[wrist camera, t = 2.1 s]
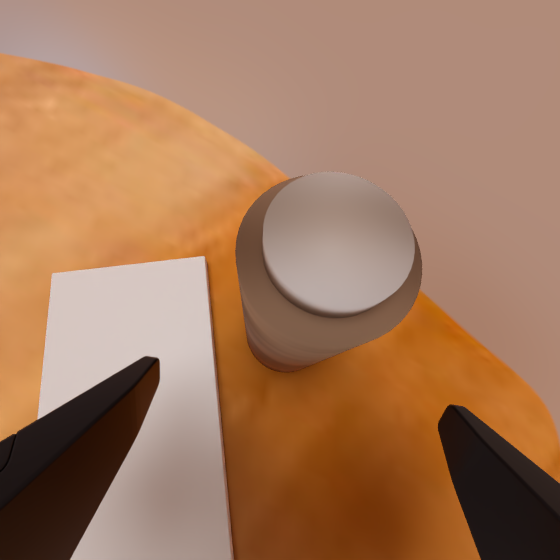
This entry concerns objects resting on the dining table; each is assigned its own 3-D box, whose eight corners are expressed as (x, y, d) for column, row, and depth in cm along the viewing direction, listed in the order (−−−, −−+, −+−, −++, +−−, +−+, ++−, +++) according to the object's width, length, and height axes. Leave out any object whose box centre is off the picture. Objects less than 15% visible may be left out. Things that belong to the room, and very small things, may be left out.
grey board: (248, 716, 14) (247, 744, 13) (19, 791, 13) (-4, 830, 12) (206, 262, 22) (204, 256, 21) (63, 279, 21) (52, 273, 20)
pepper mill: (331, 364, 20) (475, 322, 7) (252, 378, 19) (248, 359, 6) (315, 289, 22) (405, 145, 9) (242, 299, 21) (222, 157, 8)
